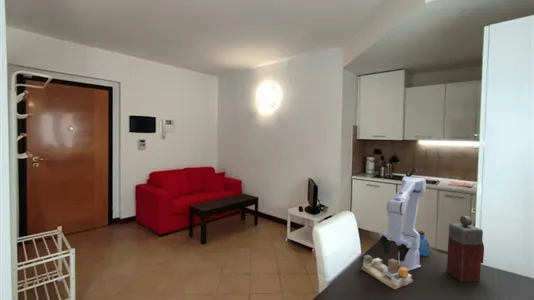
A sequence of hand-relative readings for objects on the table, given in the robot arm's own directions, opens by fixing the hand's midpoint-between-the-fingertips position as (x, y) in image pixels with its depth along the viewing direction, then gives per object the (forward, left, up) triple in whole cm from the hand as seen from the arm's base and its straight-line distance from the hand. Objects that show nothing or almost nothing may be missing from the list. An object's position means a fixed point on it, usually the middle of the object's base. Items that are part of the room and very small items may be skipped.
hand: (394, 257), depth 118 cm
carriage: (0, 0, -8) cm, 8 cm away
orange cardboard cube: (-1, +4, -7) cm, 8 cm away
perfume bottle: (-37, -12, -11) cm, 40 cm away
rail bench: (0, -4, -10) cm, 11 cm away
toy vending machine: (-33, +12, -11) cm, 37 cm away
